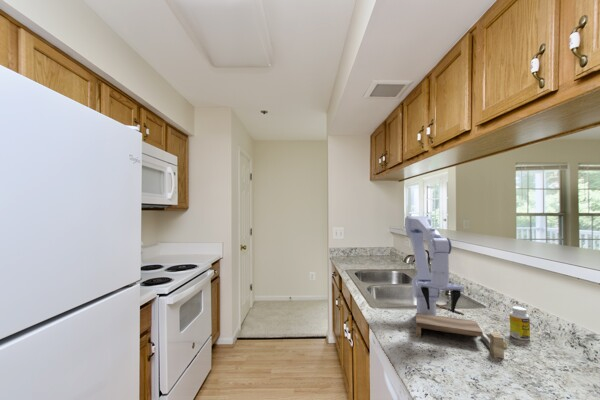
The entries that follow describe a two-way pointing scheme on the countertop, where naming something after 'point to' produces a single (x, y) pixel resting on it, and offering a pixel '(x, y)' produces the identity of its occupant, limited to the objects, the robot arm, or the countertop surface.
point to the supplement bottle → (519, 323)
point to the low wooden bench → (447, 325)
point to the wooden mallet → (494, 344)
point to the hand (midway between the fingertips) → (440, 310)
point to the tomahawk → (450, 309)
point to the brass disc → (505, 345)
